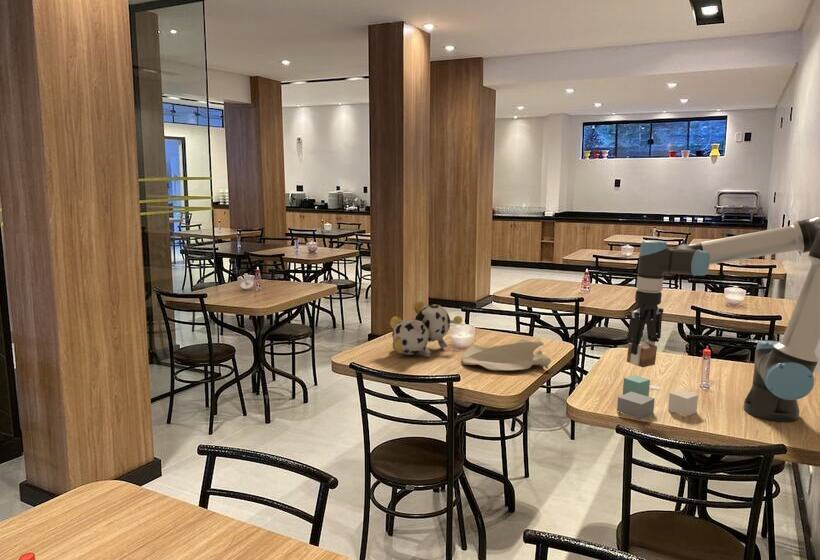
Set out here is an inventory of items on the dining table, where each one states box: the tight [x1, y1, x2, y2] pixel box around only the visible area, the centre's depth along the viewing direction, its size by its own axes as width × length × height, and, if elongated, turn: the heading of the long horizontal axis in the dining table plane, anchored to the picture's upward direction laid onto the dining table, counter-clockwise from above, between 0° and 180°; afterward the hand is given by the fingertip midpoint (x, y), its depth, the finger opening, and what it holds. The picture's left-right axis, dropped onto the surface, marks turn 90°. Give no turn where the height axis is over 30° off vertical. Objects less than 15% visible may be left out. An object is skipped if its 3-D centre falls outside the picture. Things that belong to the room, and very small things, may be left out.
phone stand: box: [649, 384, 660, 391], centre depth 215 cm, size 20×12×2 cm, turn 157°
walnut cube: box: [626, 340, 658, 368], centre depth 190 cm, size 6×6×6 cm
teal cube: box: [622, 374, 651, 397], centre depth 205 cm, size 6×6×6 cm
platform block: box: [616, 392, 655, 420], centre depth 190 cm, size 8×8×5 cm
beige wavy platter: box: [461, 339, 552, 372], centre depth 237 cm, size 36×21×11 cm, turn 60°
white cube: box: [667, 388, 699, 417], centre depth 191 cm, size 6×6×6 cm
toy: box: [389, 299, 463, 358], centre depth 253 cm, size 21×33×20 cm
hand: (641, 362), depth 190 cm, fingers closed on walnut cube, 6 cm apart
